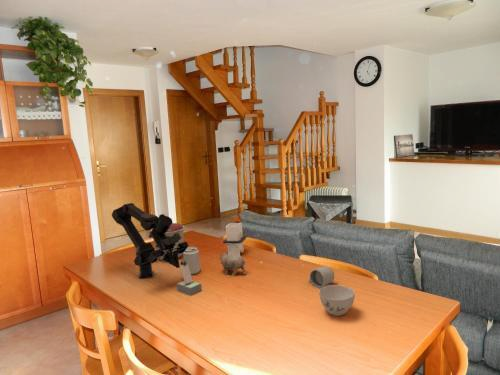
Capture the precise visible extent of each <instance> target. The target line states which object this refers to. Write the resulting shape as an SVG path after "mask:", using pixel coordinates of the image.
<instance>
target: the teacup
mask: <svg viewBox="0 0 500 375" xmlns="http://www.w3.org/2000/svg"><path fill="white" fill-rule="evenodd" d="M355 293H356V292H355V290H354V289H353V288H350V287H348V286H346V285H342V284H327V285H325V286H323V287H320V288H319V290H318V295H319V300H320V302H321V305H322V307H323V308H324V309H325V310H326V311H327V312H328V314H330V315H332V316H337V317H338V316H340V317H341V316H343V315H345V314H346V313H347V312H348V311H349V310H350V309H351V308H352V305H353V303H354V301H355V296H356V294H355Z"/></svg>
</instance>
